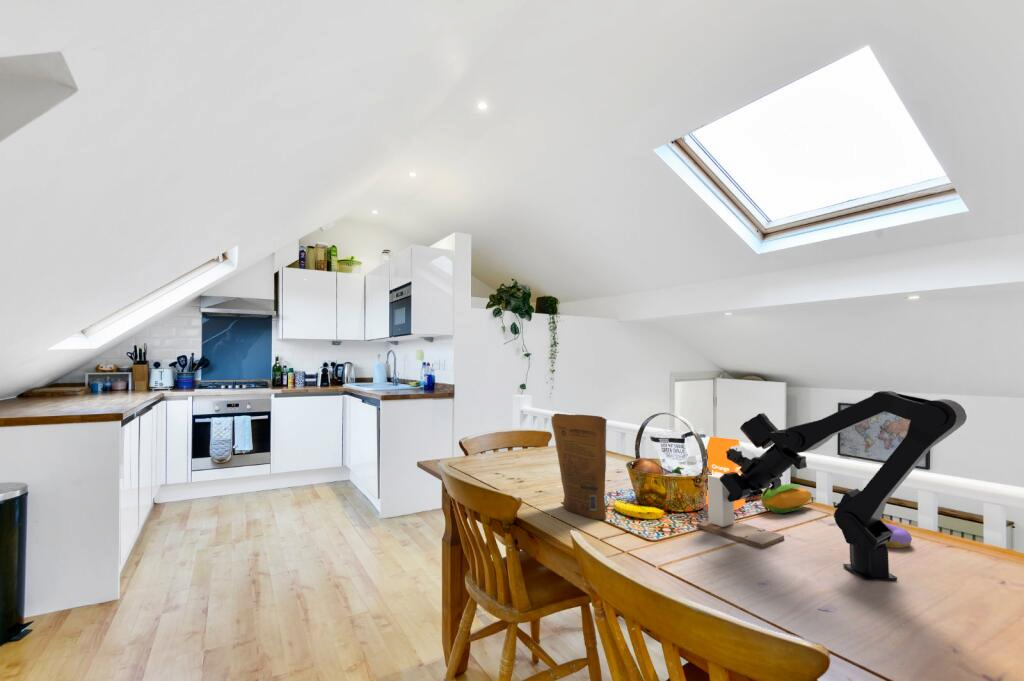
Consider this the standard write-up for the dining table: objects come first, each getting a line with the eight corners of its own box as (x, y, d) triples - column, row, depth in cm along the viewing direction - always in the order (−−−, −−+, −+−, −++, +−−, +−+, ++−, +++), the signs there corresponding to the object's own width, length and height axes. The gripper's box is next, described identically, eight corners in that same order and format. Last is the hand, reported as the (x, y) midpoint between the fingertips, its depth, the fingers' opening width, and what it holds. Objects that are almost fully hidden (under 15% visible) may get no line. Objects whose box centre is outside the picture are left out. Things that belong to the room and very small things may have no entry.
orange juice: (734, 511, 136) (733, 441, 137) (704, 504, 142) (703, 437, 143) (745, 506, 141) (744, 438, 142) (716, 499, 148) (715, 435, 149)
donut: (877, 531, 119) (880, 513, 119) (918, 552, 111) (923, 533, 110) (849, 536, 116) (853, 517, 115) (890, 558, 107) (894, 538, 107)
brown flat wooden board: (784, 539, 114) (784, 534, 114) (762, 548, 109) (762, 543, 109) (719, 520, 128) (719, 515, 128) (696, 527, 123) (696, 522, 123)
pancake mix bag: (599, 524, 125) (598, 417, 126) (549, 507, 140) (549, 411, 141) (615, 519, 129) (614, 415, 130) (565, 503, 144) (565, 410, 145)
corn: (753, 484, 137) (797, 476, 145) (752, 510, 137) (796, 501, 146) (777, 492, 130) (822, 484, 139) (775, 519, 130) (821, 510, 139)
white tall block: (734, 523, 122) (733, 475, 123) (723, 526, 119) (722, 478, 120) (719, 518, 125) (718, 473, 126) (708, 522, 123) (707, 475, 123)
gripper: (767, 433, 122) (728, 468, 131) (726, 440, 112) (686, 478, 120) (801, 470, 116) (757, 504, 124) (760, 480, 105) (715, 517, 114)
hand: (729, 500), depth 121 cm, fingers closed, pressing on white tall block
